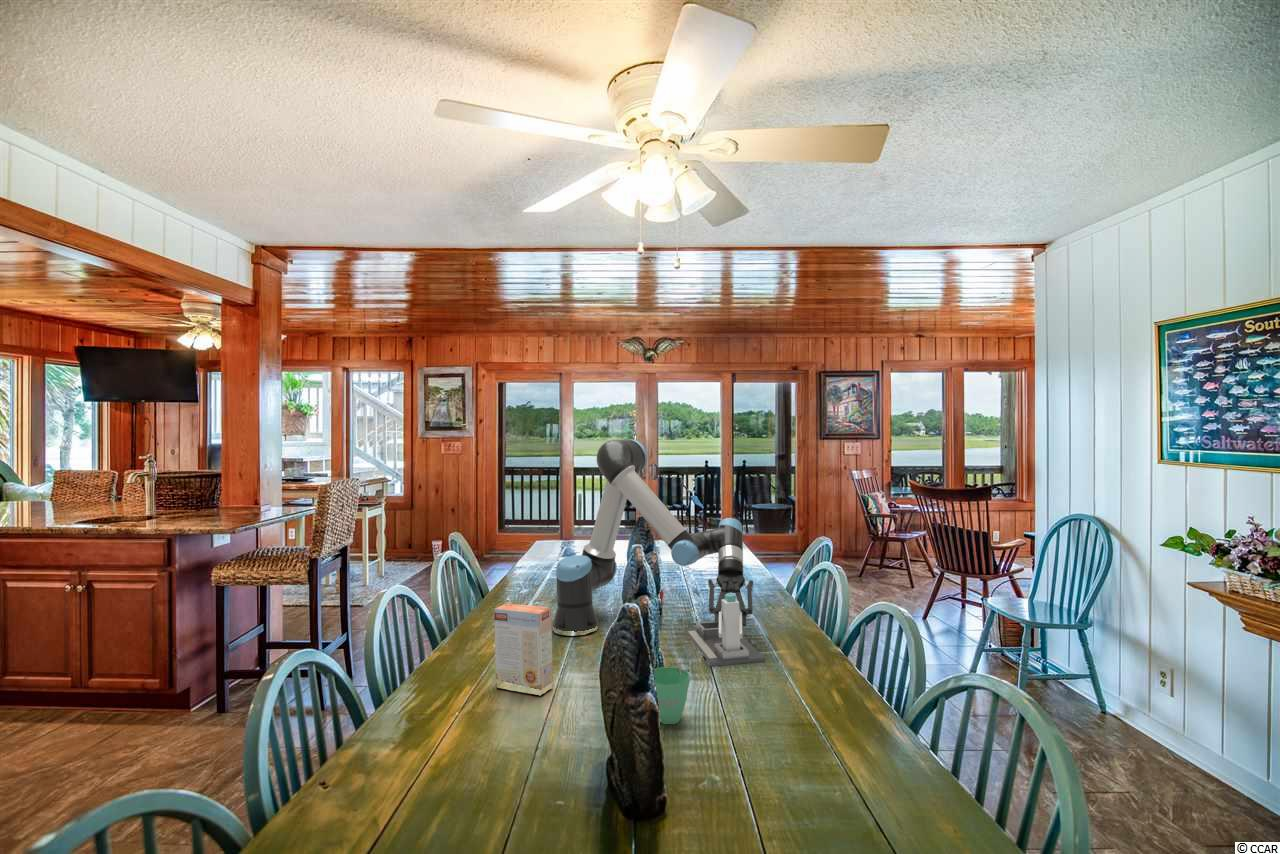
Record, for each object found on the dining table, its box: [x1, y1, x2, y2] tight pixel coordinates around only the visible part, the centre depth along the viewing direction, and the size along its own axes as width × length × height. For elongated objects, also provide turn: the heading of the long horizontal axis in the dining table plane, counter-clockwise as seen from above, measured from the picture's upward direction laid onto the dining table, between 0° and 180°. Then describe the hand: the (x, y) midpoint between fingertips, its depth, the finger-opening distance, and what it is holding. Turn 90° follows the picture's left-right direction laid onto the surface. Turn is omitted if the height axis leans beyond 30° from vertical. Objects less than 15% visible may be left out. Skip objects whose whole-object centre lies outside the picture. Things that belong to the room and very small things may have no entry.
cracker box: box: [493, 602, 554, 690], centre depth 157 cm, size 14×6×21 cm, turn 65°
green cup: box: [653, 666, 691, 725], centre depth 138 cm, size 15×10×10 cm
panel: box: [683, 620, 766, 667], centre depth 184 cm, size 16×30×3 cm, turn 10°
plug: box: [721, 593, 740, 651], centre depth 175 cm, size 4×4×16 cm
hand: (730, 635), depth 171 cm, fingers closed on plug, 5 cm apart
